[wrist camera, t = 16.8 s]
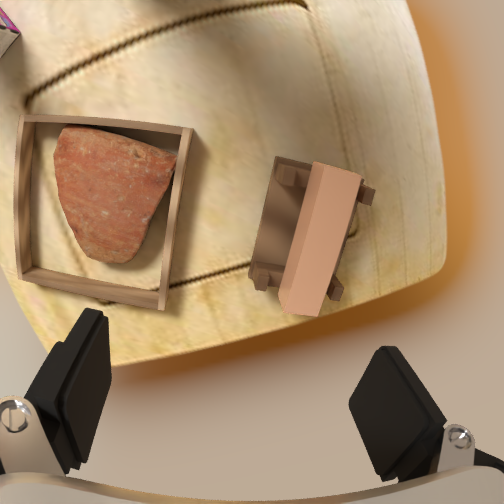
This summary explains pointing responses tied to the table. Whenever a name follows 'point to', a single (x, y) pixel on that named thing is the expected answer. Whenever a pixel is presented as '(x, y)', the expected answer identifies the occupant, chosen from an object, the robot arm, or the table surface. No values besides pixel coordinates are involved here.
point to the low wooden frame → (75, 282)
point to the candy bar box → (6, 32)
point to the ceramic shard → (109, 189)
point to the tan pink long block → (318, 238)
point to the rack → (289, 224)
